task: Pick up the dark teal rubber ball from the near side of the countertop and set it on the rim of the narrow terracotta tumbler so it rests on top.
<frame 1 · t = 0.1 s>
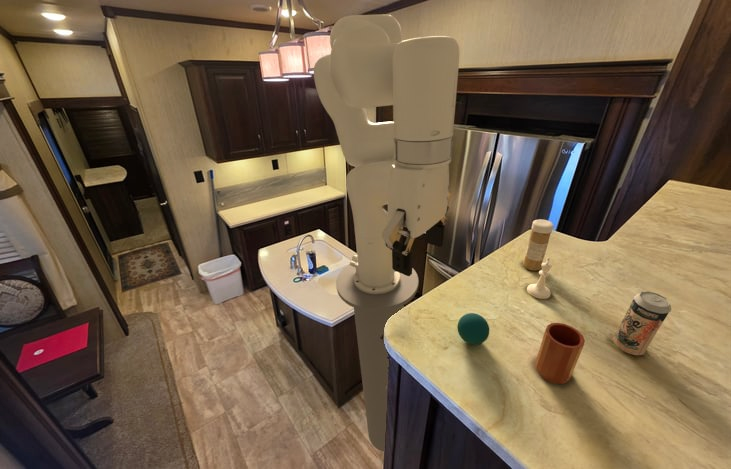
hand: (419, 257, 46), 22 cm above the worktop, tool pointing down, fingers open, 9 cm apart
sprinkles bottle: (531, 267, 78), on the worktop
chess piece: (538, 292, 70), on the worktop
beer can: (627, 347, 55), on the worktop
ball: (471, 338, 59), on the worktop
tumbler: (552, 370, 52), on the worktop
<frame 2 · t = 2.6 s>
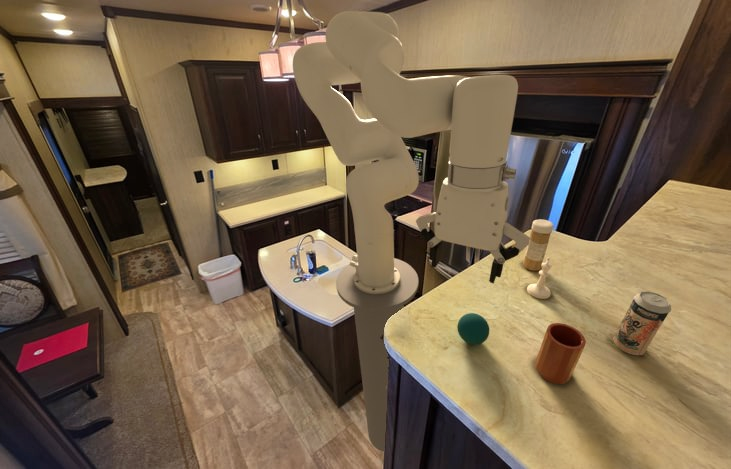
hand: (463, 270, 49), 18 cm above the worktop, tool pointing down, fingers open, 9 cm apart
nothing on the worktop moved.
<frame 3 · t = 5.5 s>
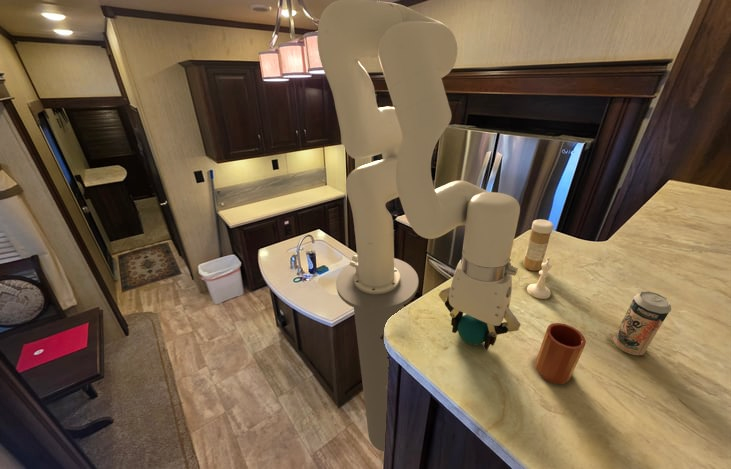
hand: (472, 335, 58), 1 cm above the worktop, tool pointing down, fingers closed on ball, 5 cm apart
ball: (471, 339, 59), on the worktop, touching gripper
everything else where it was.
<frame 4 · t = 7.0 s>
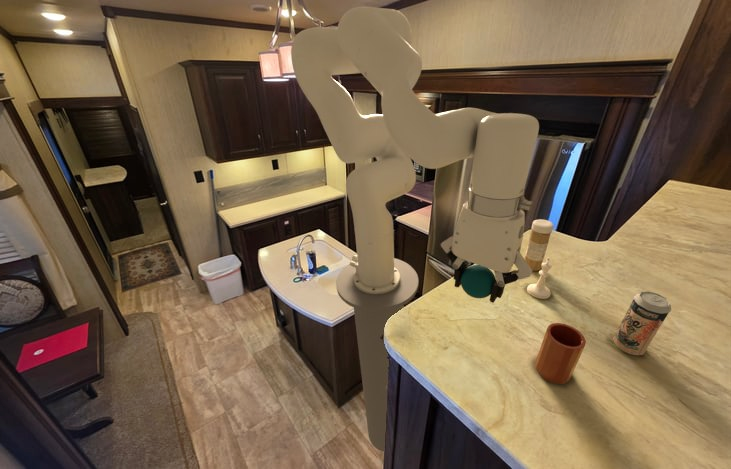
hand: (476, 289, 53), 13 cm above the worktop, tool pointing down, fingers closed on ball, 5 cm apart
ball: (475, 294, 54), point 12 cm above the worktop, touching gripper
everything else where it was.
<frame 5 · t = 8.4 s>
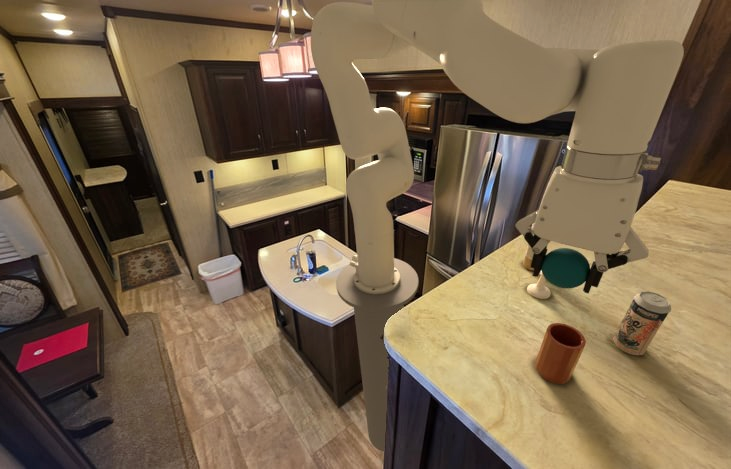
hand: (561, 278, 44), 20 cm above the worktop, tool pointing down, fingers closed on ball, 5 cm apart
ball: (559, 284, 44), point 19 cm above the worktop, touching gripper
everything else where it was.
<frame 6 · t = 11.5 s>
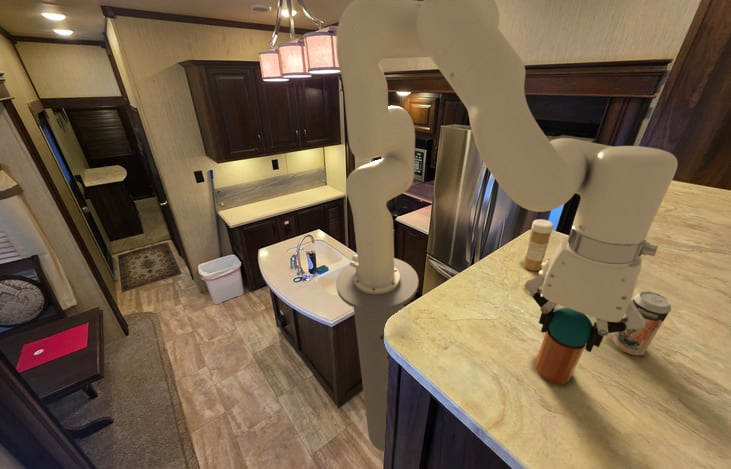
hand: (566, 335, 47), 9 cm above the worktop, tool pointing down, fingers closed on ball, 5 cm apart
ball: (564, 339, 48), point 8 cm above the worktop, touching gripper, tumbler
tumbler: (552, 370, 52), on the worktop, touching ball, gripper
everything else where it was.
when the fingers open (9 cm above the worktop, at t = 11.6 s): ball stays where it is, resting on tumbler.
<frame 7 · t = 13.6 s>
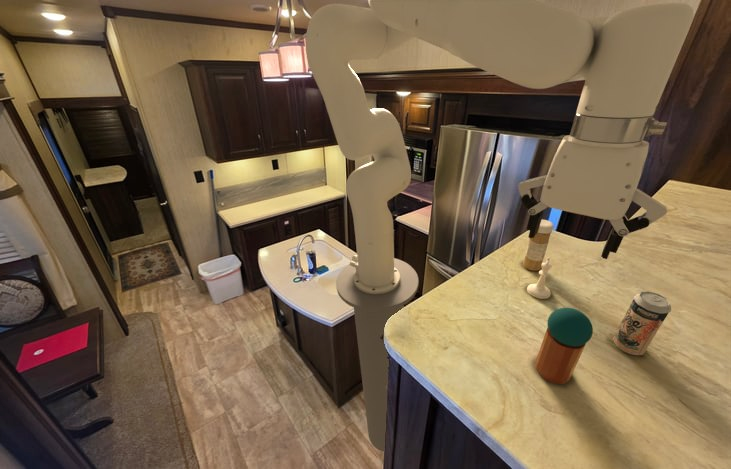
hand: (566, 243, 45), 24 cm above the worktop, tool pointing down, fingers open, 9 cm apart
ball: (564, 339, 48), point 8 cm above the worktop, touching tumbler
tumbler: (552, 370, 52), on the worktop, touching ball
everything else where it was.
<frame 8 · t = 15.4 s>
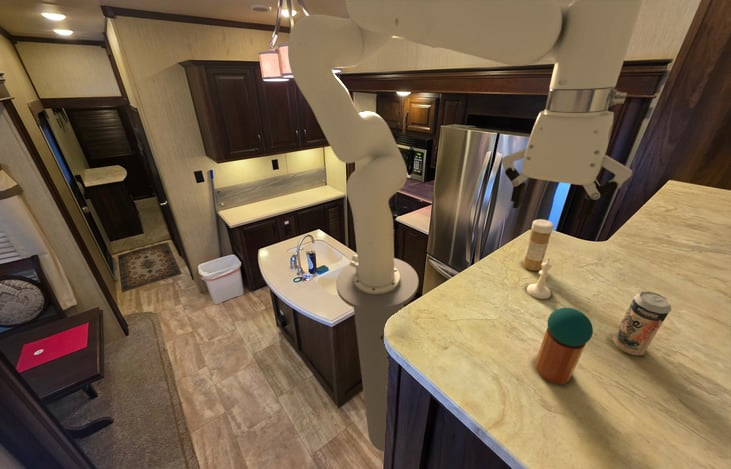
hand: (547, 211, 49), 26 cm above the worktop, tool pointing down, fingers open, 9 cm apart
nothing on the worktop moved.
at the end: ball 0.0 cm off-centre in the tumbler, point 8.0 cm above the tumbler's base; tumbler tilted 0°; the gripper is holding nothing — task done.
